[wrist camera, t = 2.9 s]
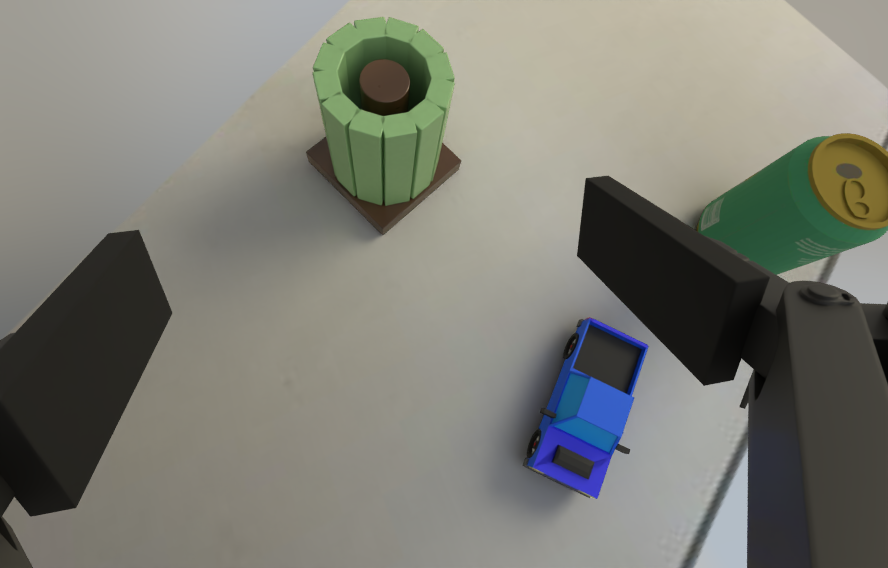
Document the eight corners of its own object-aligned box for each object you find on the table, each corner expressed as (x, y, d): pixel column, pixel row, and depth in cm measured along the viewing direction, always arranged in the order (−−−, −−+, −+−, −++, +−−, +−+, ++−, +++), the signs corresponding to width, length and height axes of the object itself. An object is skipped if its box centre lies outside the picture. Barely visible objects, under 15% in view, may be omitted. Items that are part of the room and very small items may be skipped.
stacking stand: (308, 161, 40) (280, 72, 30) (387, 100, 43) (387, -3, 32) (382, 235, 39) (381, 171, 29) (458, 169, 42) (483, 87, 31)
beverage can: (766, 202, 44) (899, 129, 33) (782, 285, 42) (929, 239, 31) (685, 198, 44) (793, 121, 32) (697, 283, 42) (817, 234, 30)
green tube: (309, 152, 39) (284, 67, 29) (387, 92, 41) (387, -5, 31) (382, 225, 38) (381, 163, 28) (458, 160, 40) (481, 82, 31)
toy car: (510, 459, 36) (529, 467, 31) (566, 318, 39) (591, 305, 35) (590, 498, 36) (621, 512, 31) (639, 353, 39) (674, 346, 35)
